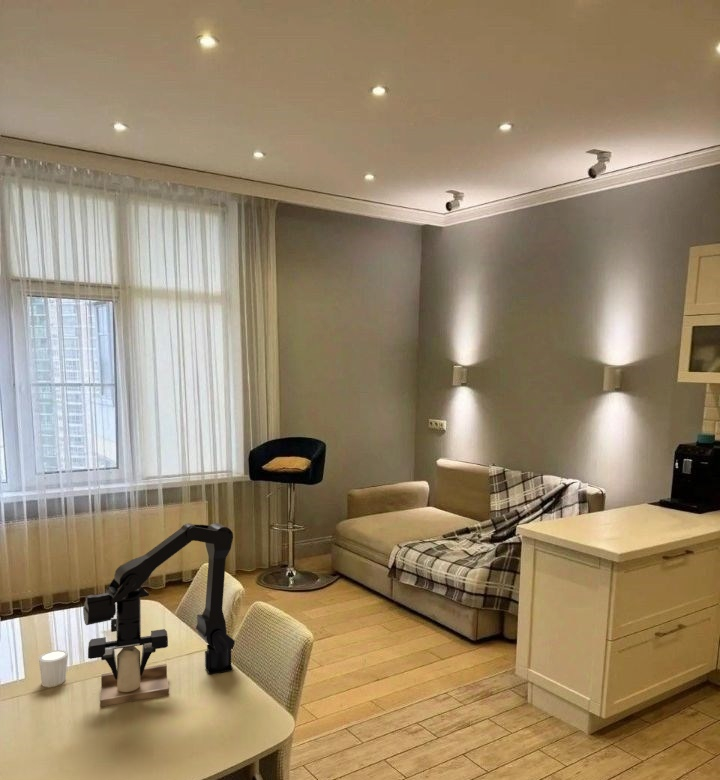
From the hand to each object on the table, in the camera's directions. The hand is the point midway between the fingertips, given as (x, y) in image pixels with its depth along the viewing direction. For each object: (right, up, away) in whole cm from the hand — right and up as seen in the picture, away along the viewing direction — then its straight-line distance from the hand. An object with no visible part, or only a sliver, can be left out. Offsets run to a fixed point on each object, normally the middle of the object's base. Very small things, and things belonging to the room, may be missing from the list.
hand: (128, 676), depth 154 cm
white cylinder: (-22, -5, +6) cm, 24 cm away
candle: (0, -3, 0) cm, 3 cm away
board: (+1, -4, +1) cm, 5 cm away
